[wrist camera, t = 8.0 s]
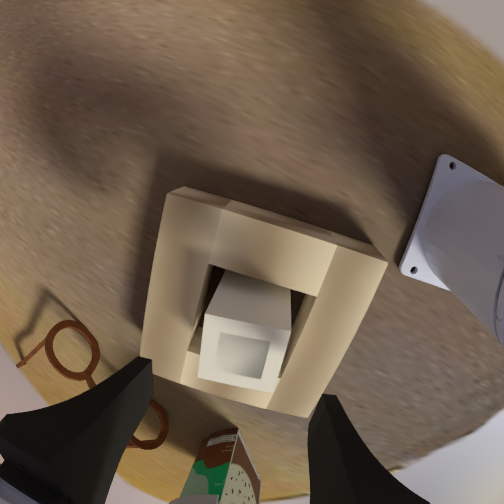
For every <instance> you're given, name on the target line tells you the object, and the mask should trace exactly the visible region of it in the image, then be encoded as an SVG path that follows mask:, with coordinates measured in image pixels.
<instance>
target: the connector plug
mask: <svg viewBox="0 0 504 504" xmlns="http://www.w3.org/2000/svg"><path fill="white" fill-rule="evenodd" d="M290 334H291V291H290V289H289V288H286V287H282V286H279V285H276V284H273V283H269V282H266V281H263V280H260V279H256V278H253V277H250V276H247V275H243V274H240V273H237V272H234V271H231V270H227V269H226V271H225V273H224V275H223V277H222V279H221V281H220V283H219V285H218V287H217V289H216V291H215V293H214V296H213V298H212V300H211V302H210V304H209V306H208V308H207V310H206V312H205V317H204V325H203V334H202V342H201V351H200V360H199V369H198V378H202V379H206V380H211V381H215V382H219V383H224V384H229V385H233V386H238V387H243V388H249V389H254V390H259V391H265V392H271V393H273V392H274V388H275V385H276V382H277V378H278V375H279V372H280V369H281V365H282V362H283V358H284V355H285V352H286V348H287V345H288V341H289V338H290Z"/></svg>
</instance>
